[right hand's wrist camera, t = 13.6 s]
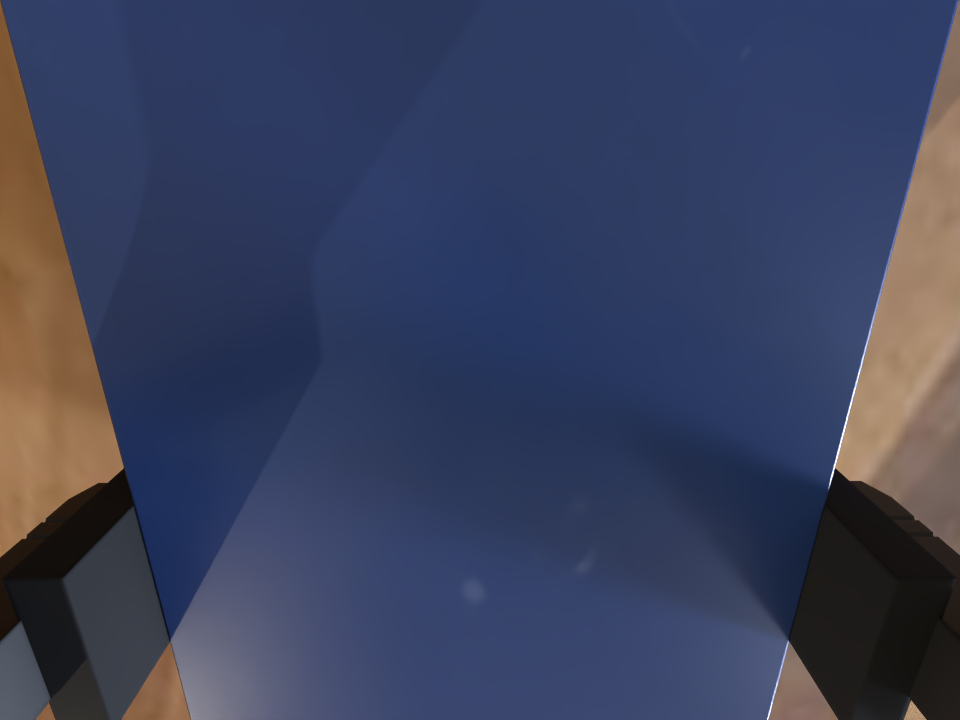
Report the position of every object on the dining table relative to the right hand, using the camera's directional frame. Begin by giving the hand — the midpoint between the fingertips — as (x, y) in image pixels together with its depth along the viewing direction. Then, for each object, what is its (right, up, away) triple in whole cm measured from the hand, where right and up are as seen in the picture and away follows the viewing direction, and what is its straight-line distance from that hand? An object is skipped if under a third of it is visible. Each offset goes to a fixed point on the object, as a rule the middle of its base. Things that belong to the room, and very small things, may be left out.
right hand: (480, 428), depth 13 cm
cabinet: (0, +6, +1) cm, 6 cm away
